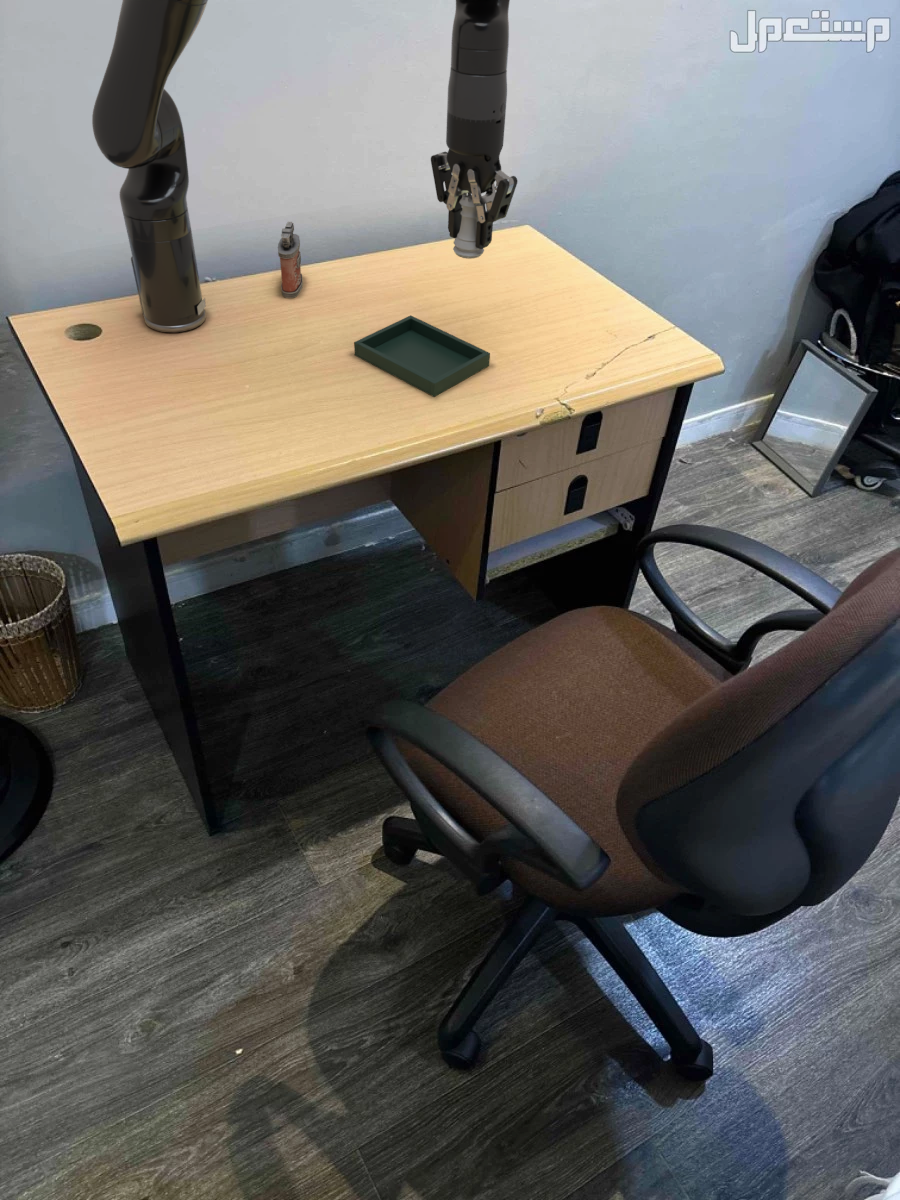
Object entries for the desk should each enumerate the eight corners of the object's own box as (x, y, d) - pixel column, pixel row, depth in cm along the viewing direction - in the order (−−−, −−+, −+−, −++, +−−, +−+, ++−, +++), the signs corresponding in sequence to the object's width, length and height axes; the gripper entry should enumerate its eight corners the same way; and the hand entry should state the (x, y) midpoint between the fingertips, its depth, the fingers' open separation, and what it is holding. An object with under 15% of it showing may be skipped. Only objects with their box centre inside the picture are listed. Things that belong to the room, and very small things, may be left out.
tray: (354, 355, 135) (353, 342, 133) (410, 327, 142) (410, 314, 140) (434, 397, 127) (434, 383, 126) (489, 365, 134) (490, 353, 133)
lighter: (299, 298, 147) (294, 238, 140) (278, 297, 147) (273, 237, 140) (305, 277, 153) (301, 219, 145) (285, 276, 152) (280, 217, 145)
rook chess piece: (490, 253, 125) (494, 195, 119) (469, 262, 123) (472, 203, 117) (467, 243, 127) (470, 186, 122) (446, 252, 125) (448, 194, 119)
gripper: (416, 100, 113) (414, 233, 125) (500, 128, 107) (490, 265, 119) (454, 90, 117) (449, 219, 129) (538, 115, 111) (525, 249, 123)
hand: (469, 241), depth 124 cm, fingers closed on rook chess piece, 4 cm apart
